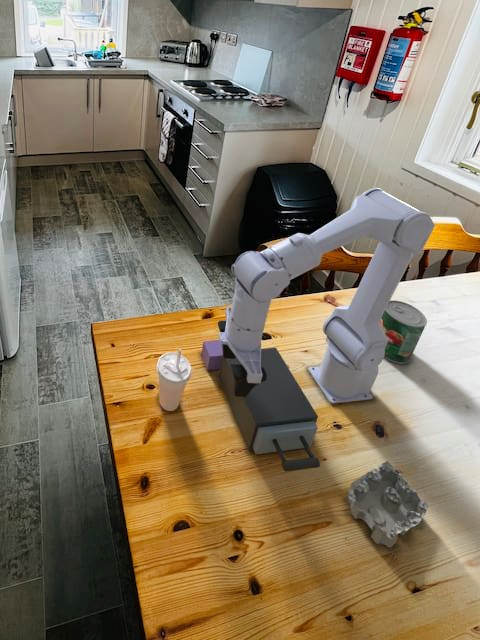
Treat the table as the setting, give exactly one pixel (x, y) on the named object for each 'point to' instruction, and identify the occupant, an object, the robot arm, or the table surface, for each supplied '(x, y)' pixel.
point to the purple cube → (212, 354)
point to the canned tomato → (401, 330)
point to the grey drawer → (288, 443)
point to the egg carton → (385, 503)
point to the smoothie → (172, 379)
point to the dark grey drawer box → (266, 397)
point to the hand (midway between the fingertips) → (234, 375)
